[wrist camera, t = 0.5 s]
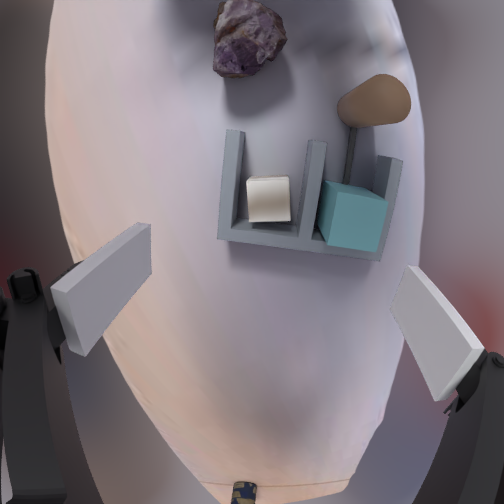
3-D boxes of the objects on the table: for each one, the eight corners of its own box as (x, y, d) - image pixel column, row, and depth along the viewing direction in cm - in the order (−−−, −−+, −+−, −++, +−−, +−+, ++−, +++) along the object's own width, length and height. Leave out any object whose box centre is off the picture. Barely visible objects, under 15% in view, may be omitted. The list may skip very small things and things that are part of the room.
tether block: (335, 88, 30) (361, 66, 19) (376, 99, 30) (416, 85, 19) (316, 221, 37) (332, 256, 26) (356, 228, 37) (384, 263, 26)
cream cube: (250, 176, 36) (246, 181, 31) (287, 174, 35) (288, 179, 31) (252, 212, 38) (249, 222, 33) (288, 210, 37) (290, 220, 33)
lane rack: (233, 131, 34) (226, 129, 29) (388, 157, 33) (403, 160, 28) (224, 227, 39) (217, 239, 34) (369, 247, 38) (379, 261, 33)
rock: (213, 79, 32) (286, 80, 31) (194, 75, 25) (286, 74, 24) (215, 9, 26) (288, 8, 25) (197, -10, 19) (288, -14, 18)
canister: (229, 482, 81) (223, 516, 64) (244, 479, 78) (240, 516, 61) (246, 487, 83) (241, 520, 66) (261, 484, 80) (258, 519, 63)
